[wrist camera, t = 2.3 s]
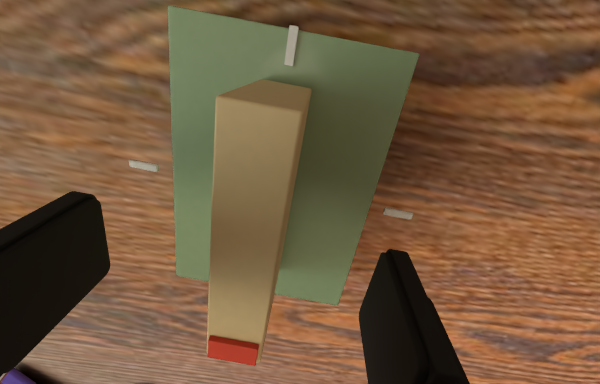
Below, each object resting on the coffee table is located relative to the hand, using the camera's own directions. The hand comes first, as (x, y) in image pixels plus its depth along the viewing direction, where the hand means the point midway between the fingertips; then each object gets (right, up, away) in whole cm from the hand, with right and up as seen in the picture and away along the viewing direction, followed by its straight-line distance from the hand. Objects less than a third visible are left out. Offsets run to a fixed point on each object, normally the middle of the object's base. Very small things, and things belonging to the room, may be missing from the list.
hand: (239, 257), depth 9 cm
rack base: (+1, +4, +7) cm, 8 cm away
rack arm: (+1, +2, +5) cm, 5 cm away
